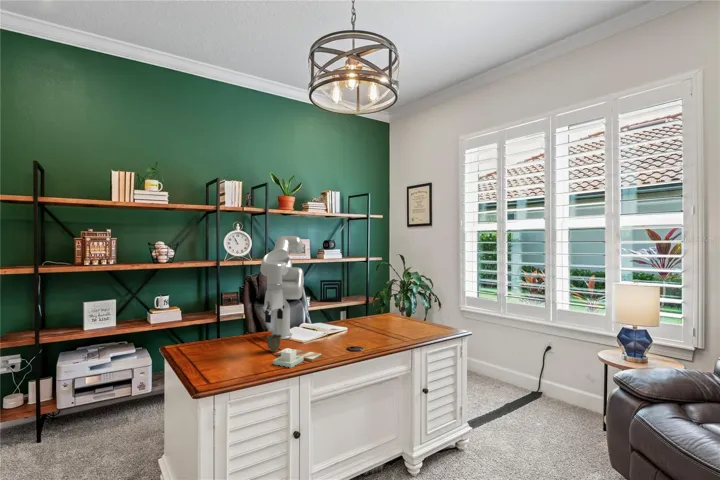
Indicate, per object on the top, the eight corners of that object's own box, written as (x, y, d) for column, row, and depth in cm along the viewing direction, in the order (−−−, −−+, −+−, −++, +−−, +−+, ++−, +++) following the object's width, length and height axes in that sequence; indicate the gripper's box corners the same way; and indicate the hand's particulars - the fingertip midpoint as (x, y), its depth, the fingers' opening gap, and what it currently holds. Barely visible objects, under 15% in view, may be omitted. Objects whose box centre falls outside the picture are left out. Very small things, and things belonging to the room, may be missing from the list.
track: (276, 355, 183) (276, 352, 183) (287, 350, 192) (287, 347, 192) (312, 361, 175) (312, 359, 175) (322, 356, 183) (322, 353, 183)
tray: (273, 364, 170) (273, 360, 170) (286, 358, 179) (286, 354, 179) (291, 368, 166) (291, 363, 166) (303, 361, 175) (303, 357, 175)
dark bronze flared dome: (267, 349, 193) (267, 333, 193) (281, 348, 194) (282, 333, 194) (265, 353, 186) (265, 337, 185) (280, 353, 186) (280, 337, 186)
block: (281, 362, 171) (281, 351, 171) (287, 359, 176) (287, 348, 176) (290, 364, 169) (290, 352, 169) (296, 360, 174) (296, 349, 174)
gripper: (278, 284, 199) (278, 316, 199) (257, 288, 183) (257, 323, 183) (290, 285, 195) (290, 318, 196) (269, 289, 180) (269, 324, 180)
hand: (274, 320), depth 189 cm, fingers open, 9 cm apart
